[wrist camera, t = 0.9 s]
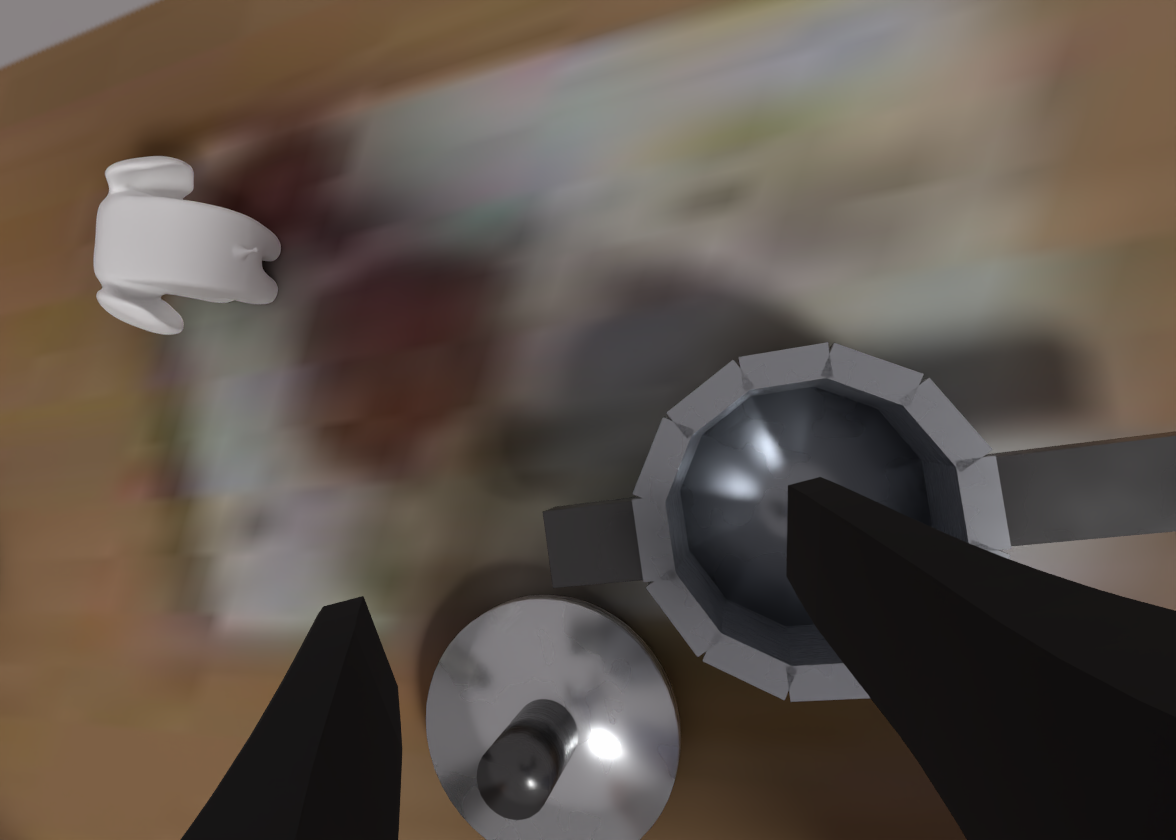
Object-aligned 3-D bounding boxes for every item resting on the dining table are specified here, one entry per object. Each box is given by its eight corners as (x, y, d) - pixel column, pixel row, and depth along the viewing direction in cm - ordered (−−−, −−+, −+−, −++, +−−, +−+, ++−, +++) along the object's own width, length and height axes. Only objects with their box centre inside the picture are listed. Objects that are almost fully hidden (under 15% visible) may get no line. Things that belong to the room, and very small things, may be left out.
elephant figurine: (173, 194, 31) (39, 140, 25) (325, 193, 29) (218, 134, 23) (162, 341, 31) (26, 321, 25) (314, 350, 29) (204, 331, 23)
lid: (701, 838, 25) (687, 944, 20) (463, 837, 27) (394, 933, 22) (664, 577, 25) (640, 615, 20) (432, 598, 28) (358, 637, 23)
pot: (1223, 618, 21) (1363, 676, 16) (604, 658, 26) (568, 711, 21) (1166, 303, 21) (1284, 266, 17) (568, 399, 26) (525, 392, 21)
